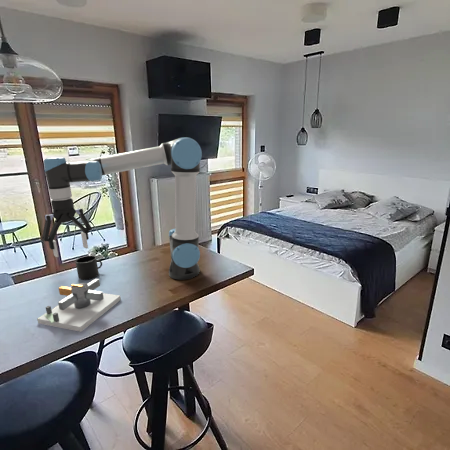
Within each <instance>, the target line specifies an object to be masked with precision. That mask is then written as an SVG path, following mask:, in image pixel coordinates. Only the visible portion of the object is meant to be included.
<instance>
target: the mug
mask: <svg viewBox="0 0 450 450" xmlns="http://www.w3.org/2000/svg"><path fill="white" fill-rule="evenodd" d="M98 263H99V264H100V265H99V266H98ZM102 266H103V262H102V261H101V260H100V259H97V257H96V256H95V255H85V256H81V257H78V258H77V259H76V260H75V267H76V271H77V278H78V279H79V280H82V281H88V280H91V279H96V278H97V277H98V276H99V275H100V273H99V269H101V268H102Z"/></svg>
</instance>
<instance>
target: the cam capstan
mask: <svg viewBox="0 0 450 450" xmlns="http://www.w3.org/2000/svg"><path fill="white" fill-rule="evenodd" d="M99 287H101V283H100V279H99V278H93V280H91V281H90V282H88V283H87V282H80V283H79V282H78V283H76V284H75V283H72V284H70V286H64V285H61V286H59V287H58V293H59V295H60V296H65V297H64V298H62V299H61V300H60V301H58V302H57V304H58V305H59V309H60V310H64V309H66V308H67V307H69V306H70V305H72V304H73V303H74V306H75V308H78V309H80V308H85V307H87V306H89V305H90V304H91V300H97V301H101V300H103V299H104V297H103V293H104V292H103V291H100V290H96V289H97V288H99ZM90 299H91V300H90Z"/></svg>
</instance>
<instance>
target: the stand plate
mask: <svg viewBox="0 0 450 450" xmlns="http://www.w3.org/2000/svg"><path fill="white" fill-rule="evenodd" d="M103 297H104V299H103V300H101V301H97V300H91V299H90V300H91V304H90V305H89V306H87V307H85V308H80V309H78V308H75V306H74V303H73V304H72V305H70V306H69V307H67V308H66V309H64V310H60V309H59V304H58V305H56V306H55V307H54V308H52V306H51V305H47V306H46V307H45V311H46V312H45V313H43V314H42V315H41V316H39V317H38V318H36V321H37V323H38V324H39V325H45V326H49V327H50V326H51V327H54V328H55V327H56V328H60V329H65V330H70V331H75V332H80V333H82V332H83V331H84V330H85V329H87V328H88V327H90V325H92V324H93V323H94V322H95V321H97V320H98V319H99V318H100V317H102V315H104V314H105V313H107V311H109V310H110V309H111V308H113V307H114V306H115V305H117V304H118V303H119V302H121V300H122V299H121V298H122V297H121V295H118V294H112V293H105V292H103Z"/></svg>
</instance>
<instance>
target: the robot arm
mask: <svg viewBox="0 0 450 450" xmlns="http://www.w3.org/2000/svg"><path fill="white" fill-rule="evenodd" d="M202 152H203V151H202V148H201V145H200V144H199V143H198V142H197V141H196V140H195V139H193V138H191V137H187V136H186V137H184V136H183V137H178V138H175V139H173V140H170V141H166V142H162V143H161V144H160V145H158V146H153V147H147V148H143V149H142V148H141V149H137V150H131V151H128V152H127V151H126V152H120V153H116V154H115V153H114V154H111V155H105V156H100V157H94V158H87V159H85V160H83V161H74V162H69V161H68V162H67V161H66V158H65V157H63V156H62V157H47V158H44V160H43V166H44V173H45V177H46V183H47V188H48V194H49V199H50V205H51V208H52V214H45V215H44V221H45V222H44V226H43V231H42V237H41V240H42V241H44V242H48V247H49V249H50V250H52V253H53V257H56V258H59V257H60V256H59V251H58V245H57V241H56V240H54V239H55V237H56V235H57V233H58V230H59V228H60V227H61V225H62V224H65V223H68V222H69V223H70V222H72V223H73V224H75V225H76V226H77V227H78V228H79V229H80V230H81V231H82V232H80V234H81V242H82V248H84V249H89V245H88V240H89V238H90V237H89V232H90V231H91V230H93V228H92V226H91V224H90V222H89V221H88V219H87V217H86V216H85V214H84V210H83V208H81V207H78V208H75V205H74V200H73V198H72V196H73V193H72V188H71V183H80V182H81V183H83V182H84V183H85V182H96V181H100V180H102V179H103V176H105V175H112V174H117V173H122V172H127V171H132V170H138V169H143V168H147V167H152V166H159V165H163V164H164V165H165V166H170V169H171V170H170V172H171V173H172V174H173V175H174V217H175V218H174V228H172V229H170V230H169V231H168V238H169V240H168V241H169V250H170V258H171V260H170V264H169V269H168V276H169V277H170V278H171V279H173V280H177V281H181V280H183V281H185V280H191V279H194V278H195V276H196V277H197V276H199V275H200V273H201V270H200V265H199V263H198V262H199V261H200V258H201V252H200V251H201V250H200V248H199V240H200V236H199V233H197V231H196V209H197V208H196V207H197V205H196V204H197V203H196V195H197V194H196V193H197V192H196V191H197V189H196V188H197V176H198V174H199V173H200V170H201V168H200V167H201V161H202V155H203V153H202ZM75 215H78V217H79V219H80V220H81V222H82V223H83V224H82V223H81V222H80V221H79V220H78V219H77V218H76V217H75ZM53 218H54V219H55V220H54V222H53V225H52V227H51V224H52V220H53ZM199 272H200V273H199ZM198 274H199V275H198ZM193 277H194V278H193Z"/></svg>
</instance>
